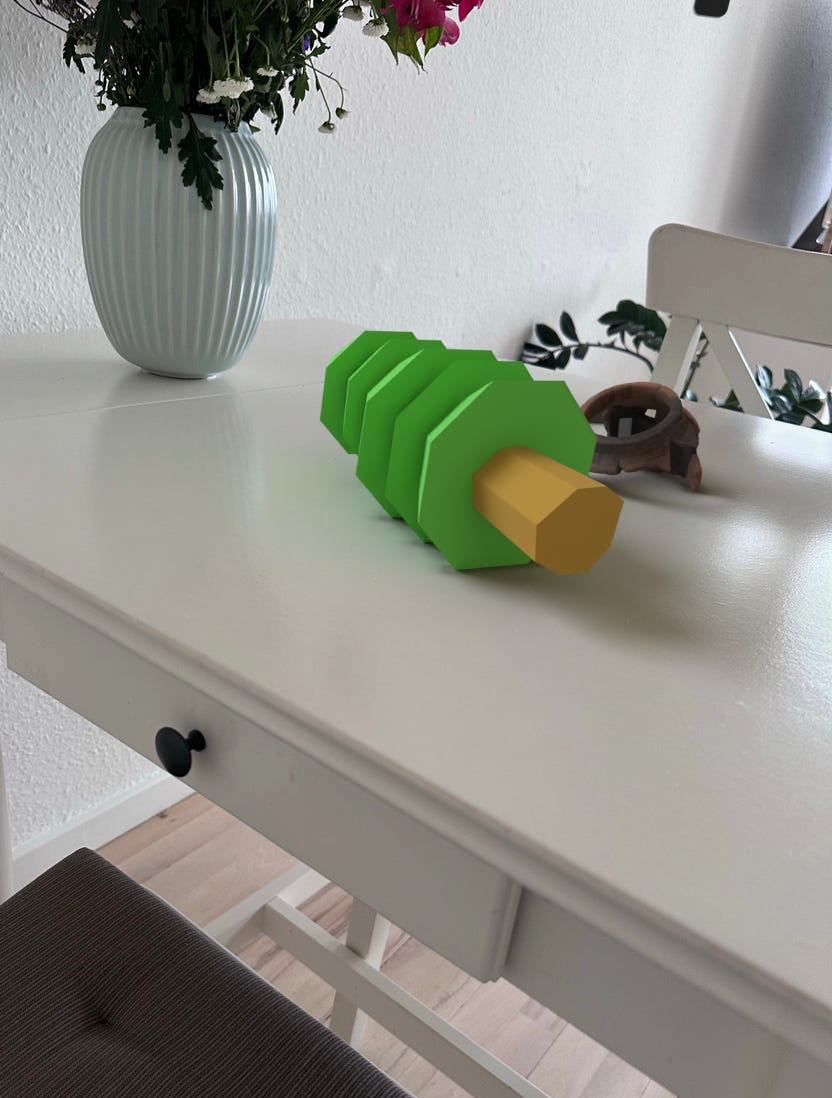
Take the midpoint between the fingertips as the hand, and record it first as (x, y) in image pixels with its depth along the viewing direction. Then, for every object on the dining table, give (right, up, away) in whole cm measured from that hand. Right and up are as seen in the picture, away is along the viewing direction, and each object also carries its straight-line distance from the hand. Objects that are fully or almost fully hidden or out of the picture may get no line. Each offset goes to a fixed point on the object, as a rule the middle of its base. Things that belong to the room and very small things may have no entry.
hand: (720, 7), depth 62 cm
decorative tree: (-19, -33, -2) cm, 38 cm away
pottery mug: (-3, -29, +10) cm, 31 cm away
